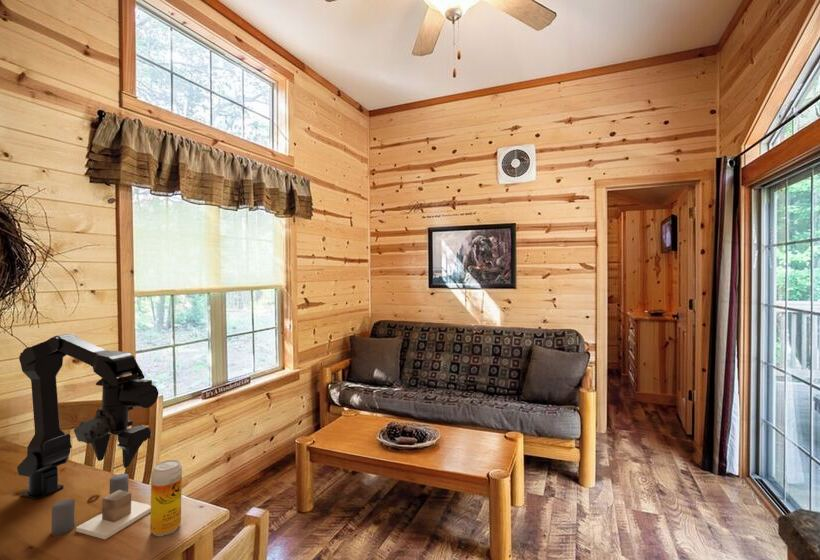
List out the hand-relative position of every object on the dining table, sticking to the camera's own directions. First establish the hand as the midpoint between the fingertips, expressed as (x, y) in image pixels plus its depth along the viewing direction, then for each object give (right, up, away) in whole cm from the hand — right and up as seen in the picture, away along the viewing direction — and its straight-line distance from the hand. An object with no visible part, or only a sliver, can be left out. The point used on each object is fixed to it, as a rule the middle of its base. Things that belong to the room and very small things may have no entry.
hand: (113, 463), depth 102 cm
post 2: (0, -11, +2) cm, 11 cm away
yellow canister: (+20, -11, -10) cm, 25 cm away
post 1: (-4, -10, -11) cm, 15 cm away
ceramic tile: (+6, -11, -7) cm, 14 cm away
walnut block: (+6, -10, -7) cm, 13 cm away
